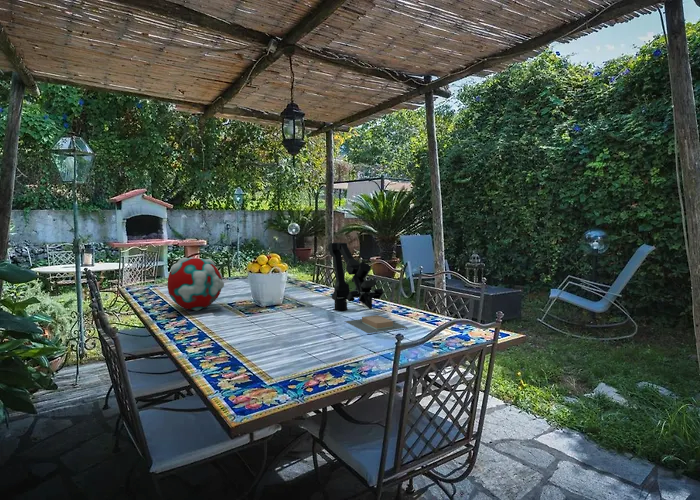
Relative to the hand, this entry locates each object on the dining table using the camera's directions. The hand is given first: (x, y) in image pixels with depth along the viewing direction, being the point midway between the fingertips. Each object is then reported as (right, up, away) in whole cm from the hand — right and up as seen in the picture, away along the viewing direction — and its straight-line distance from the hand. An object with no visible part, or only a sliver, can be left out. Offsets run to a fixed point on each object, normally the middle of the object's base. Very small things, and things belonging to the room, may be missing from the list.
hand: (371, 308), depth 206 cm
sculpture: (-99, -5, +32) cm, 104 cm away
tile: (-1, -5, +2) cm, 6 cm away
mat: (+2, -8, -3) cm, 9 cm away
